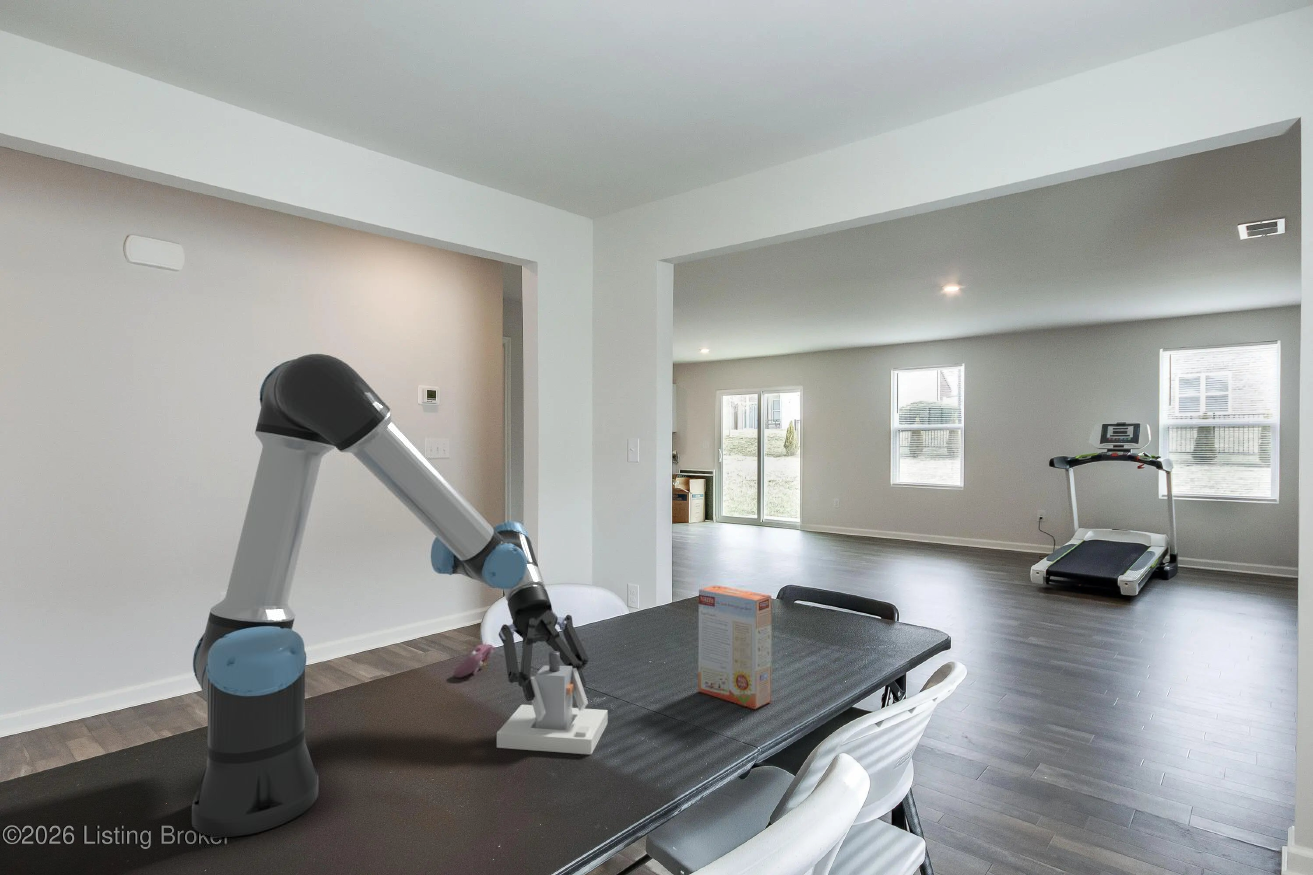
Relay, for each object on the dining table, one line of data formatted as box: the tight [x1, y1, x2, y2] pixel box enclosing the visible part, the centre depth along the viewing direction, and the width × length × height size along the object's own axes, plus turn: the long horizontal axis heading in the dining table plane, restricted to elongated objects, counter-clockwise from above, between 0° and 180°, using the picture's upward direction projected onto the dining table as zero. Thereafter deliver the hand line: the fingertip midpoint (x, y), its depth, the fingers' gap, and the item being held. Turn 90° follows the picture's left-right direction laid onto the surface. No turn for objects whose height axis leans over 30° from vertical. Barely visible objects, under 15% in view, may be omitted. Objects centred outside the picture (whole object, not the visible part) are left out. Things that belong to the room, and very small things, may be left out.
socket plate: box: [496, 704, 609, 755], centre depth 117 cm, size 16×12×3 cm
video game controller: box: [453, 642, 496, 679], centre depth 149 cm, size 10×5×7 cm, turn 170°
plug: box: [535, 650, 574, 730], centre depth 117 cm, size 6×5×13 cm
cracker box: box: [697, 584, 772, 710], centre depth 135 cm, size 14×6×21 cm, turn 47°
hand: (562, 711), depth 114 cm, fingers closed on plug, 7 cm apart
